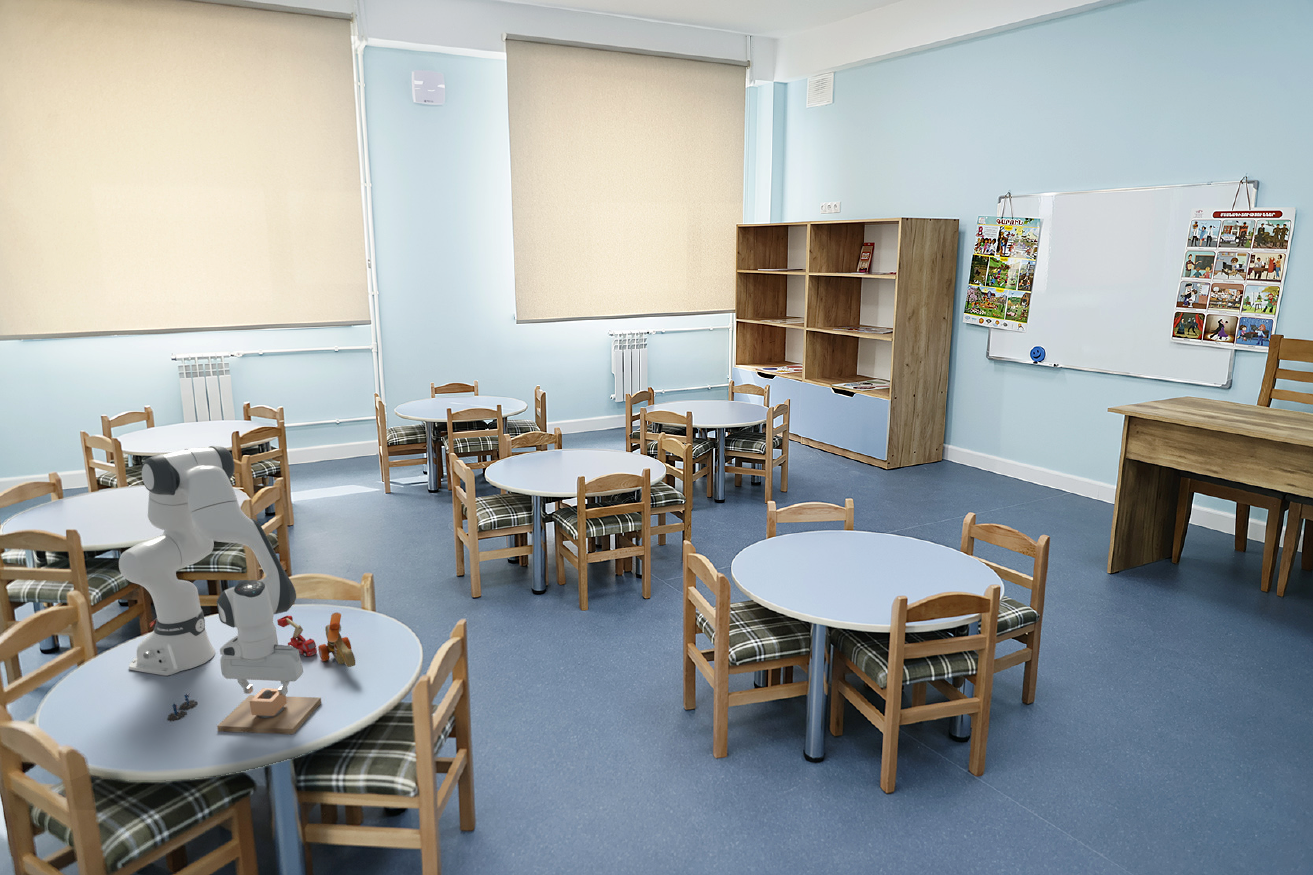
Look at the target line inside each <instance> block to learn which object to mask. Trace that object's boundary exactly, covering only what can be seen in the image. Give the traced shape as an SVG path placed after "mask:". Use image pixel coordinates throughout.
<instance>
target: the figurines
mask: <svg viewBox="0 0 1313 875" xmlns="http://www.w3.org/2000/svg"><path fill="white" fill-rule="evenodd" d="M190 694H191V692H189V693H185V694H184V700H185V701H184V702H183V703H182V704H181V705H179V708H178V705H177V704H176V702H173V704H172V710H173V712H171V713H170V714H169V715H167V718H166V720H167V721H168V722H170V723H172V722H175V721H179V720H181V719H183V718H185V717H186V716H187V715H188V712H187V711H188V710H192V709H194V708H196V706H197V705H198V702H197V701H195V700H194V699H192V700H189V698H190ZM178 710H179V711H178Z"/></svg>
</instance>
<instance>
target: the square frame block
mask: <svg viewBox="0 0 1313 875" xmlns="http://www.w3.org/2000/svg"><path fill="white" fill-rule="evenodd" d="M278 689H279V688H271V687H270V688H269V687H267V688H266V687H263V688H261V689H260V690H259V691H258V692H257V693H256V694H255V696H254V697H253V698H252V699H251V700H250V701H249V702H250V708H251V713H252V715H264V716H274V715H275V714H276V713H277V712H278V711H279V710H280V709H281V708H282V707H283V706H284V705H285V704H286V703H287V701H286V697H287V696H286V695H287V694H286V695H279V692H278ZM265 690H271V691H272V695H273V696H272V697H271V698H270V699H263V692H264V691H265Z"/></svg>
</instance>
